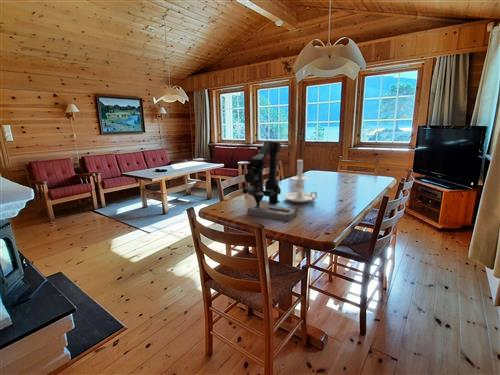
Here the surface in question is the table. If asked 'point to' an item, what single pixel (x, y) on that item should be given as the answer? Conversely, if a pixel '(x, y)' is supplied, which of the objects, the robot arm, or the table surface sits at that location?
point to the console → (273, 212)
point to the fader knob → (264, 204)
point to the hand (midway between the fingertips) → (258, 205)
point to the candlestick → (300, 187)
